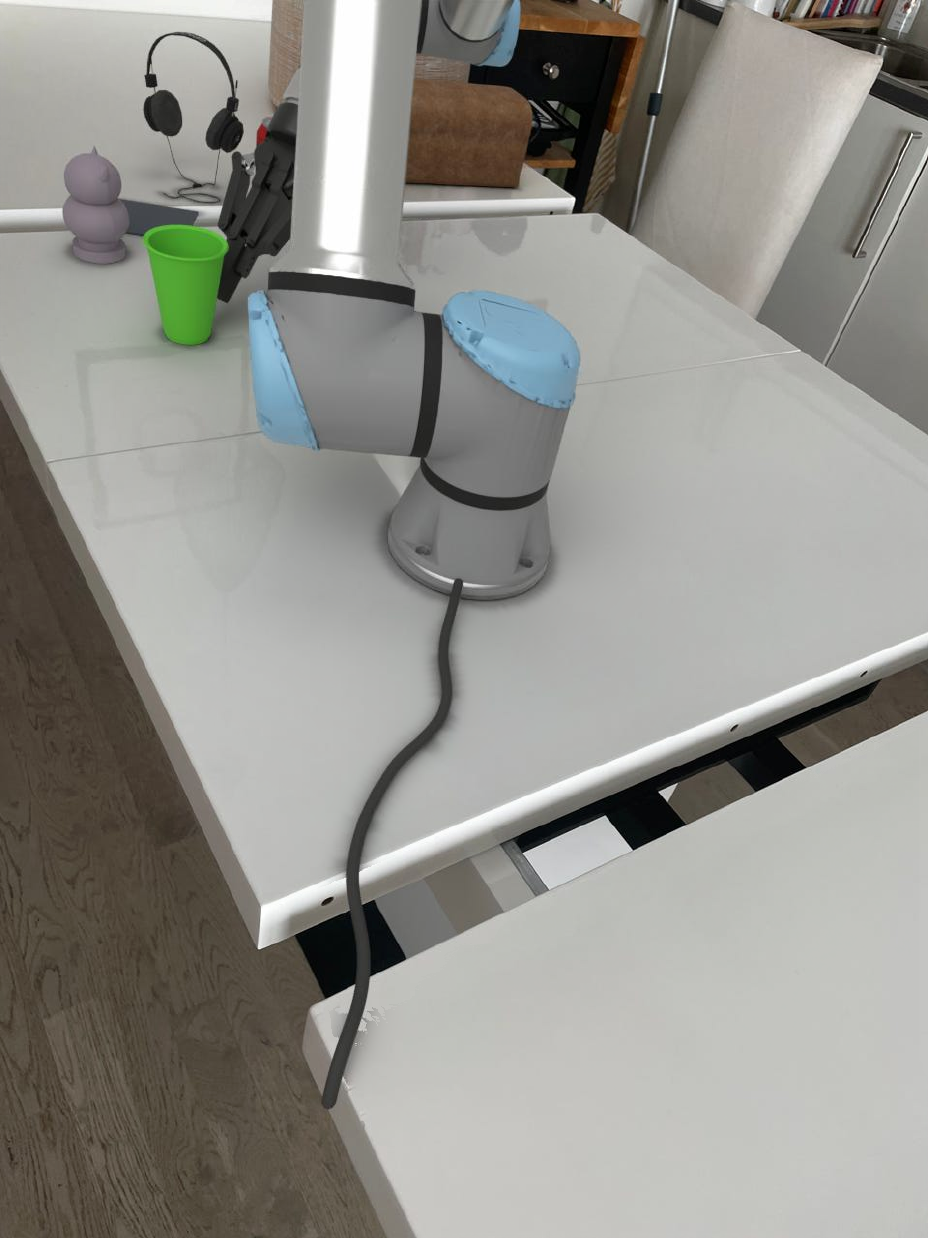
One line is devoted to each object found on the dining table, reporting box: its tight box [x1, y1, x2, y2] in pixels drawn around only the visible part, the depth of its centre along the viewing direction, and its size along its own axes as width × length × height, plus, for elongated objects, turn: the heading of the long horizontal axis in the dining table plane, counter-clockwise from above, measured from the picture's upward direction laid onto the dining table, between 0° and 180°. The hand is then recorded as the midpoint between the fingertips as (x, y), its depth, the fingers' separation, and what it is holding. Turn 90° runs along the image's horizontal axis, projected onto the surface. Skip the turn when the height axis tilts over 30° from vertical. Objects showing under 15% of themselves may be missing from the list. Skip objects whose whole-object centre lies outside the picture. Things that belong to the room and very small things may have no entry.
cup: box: [141, 225, 229, 346], centre depth 110 cm, size 9×9×11 cm
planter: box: [267, 0, 471, 107], centre depth 177 cm, size 37×37×32 cm
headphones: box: [142, 31, 245, 204], centre depth 141 cm, size 15×11×20 cm
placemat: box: [118, 198, 200, 237], centre depth 136 cm, size 11×11×1 cm
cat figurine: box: [61, 145, 129, 265], centre depth 122 cm, size 8×8×12 cm
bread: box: [405, 78, 533, 188], centre depth 166 cm, size 14×34×14 cm, turn 111°
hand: (218, 295), depth 116 cm, fingers closed
